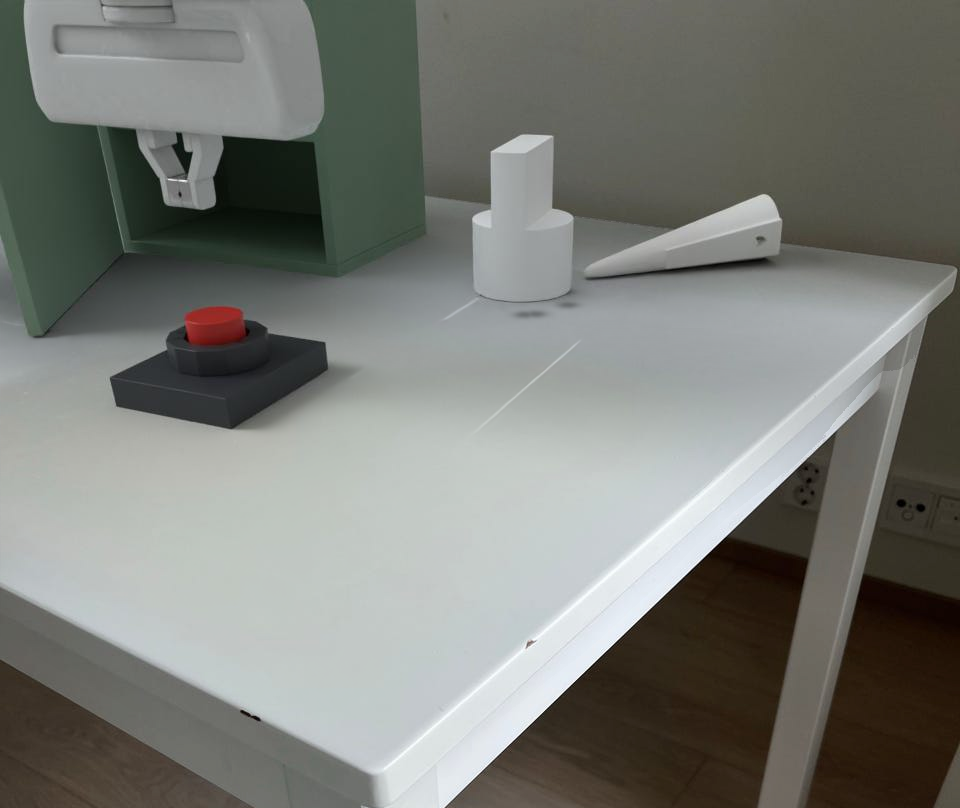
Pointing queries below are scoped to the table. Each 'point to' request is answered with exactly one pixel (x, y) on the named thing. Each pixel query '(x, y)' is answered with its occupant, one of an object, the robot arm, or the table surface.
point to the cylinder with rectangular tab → (522, 227)
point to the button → (215, 325)
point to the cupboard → (303, 163)
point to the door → (48, 192)
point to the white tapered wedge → (703, 242)
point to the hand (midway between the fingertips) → (191, 206)
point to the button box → (220, 376)
